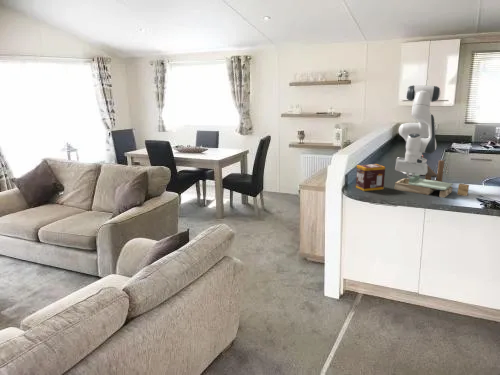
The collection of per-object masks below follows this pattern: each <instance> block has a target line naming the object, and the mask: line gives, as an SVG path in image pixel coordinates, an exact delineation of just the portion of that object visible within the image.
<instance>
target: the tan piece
mask: <svg viewBox="0 0 500 375" xmlns="http://www.w3.org/2000/svg"><path fill="white" fill-rule="evenodd" d="M408 183H409V179H407V178H404V177H403V178H402V179H399V180H397V181H396V182H394V190H395V191H396V190H397V191H403V192H407V193H415V194H420V195H427V196H429V195H431V194H433V193H434V192H436V191H437V190H438V189H435V188H428V187H422V186H415V185H409V184H408ZM452 192H453V186H450V187H449V188H447V189H446V190H441V189H440V191H439V196H438V197H439V198H442V199H443V198H446V197H447V196H449V195H450V194H451V193H452Z"/></svg>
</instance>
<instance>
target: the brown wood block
mask: <svg viewBox="0 0 500 375" xmlns="http://www.w3.org/2000/svg"><path fill="white" fill-rule="evenodd" d="M469 187H470V184H467V183H459V184H458V188H457V193H456V194H457V195H458V196H463V197H467V196H468V195H469Z"/></svg>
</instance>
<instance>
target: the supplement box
mask: <svg viewBox="0 0 500 375" xmlns="http://www.w3.org/2000/svg"><path fill="white" fill-rule="evenodd" d="M355 175H356V177H355V179H356V180H355V188H356V189H358V190H361V191H363V192H368V191H381V190H384V188H385V176H386V166H383V165H381V164H378V163H371V164H370V163H369V164H357V165H356V174H355Z"/></svg>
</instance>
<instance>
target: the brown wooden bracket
mask: <svg viewBox="0 0 500 375" xmlns="http://www.w3.org/2000/svg"><path fill="white" fill-rule="evenodd" d="M437 163H438V164H437V172H435V171H434V170H433V169H432V168H431V167H430V166H429V165H428V164H427V166H428V171H427V174H425V175H424V176H425V178H424V179H426V180H432V181H439V182H443V176H444V169H445V160H444V159H439V160H438V162H437ZM432 177H436V179H432Z"/></svg>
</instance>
